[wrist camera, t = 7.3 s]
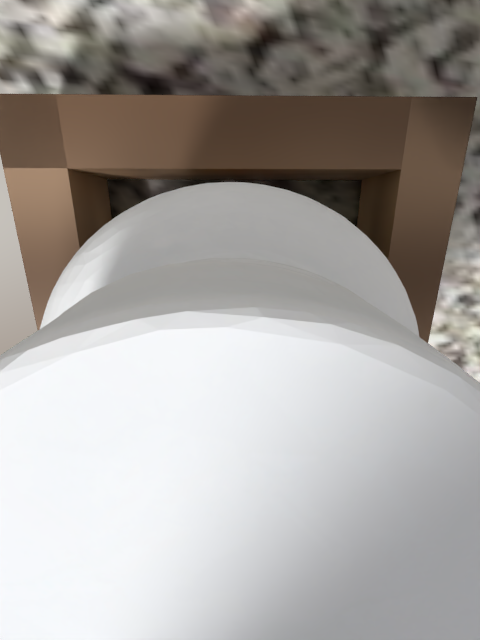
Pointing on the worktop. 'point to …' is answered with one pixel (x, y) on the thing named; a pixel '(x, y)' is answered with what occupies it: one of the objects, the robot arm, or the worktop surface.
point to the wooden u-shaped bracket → (236, 166)
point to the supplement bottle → (236, 438)
